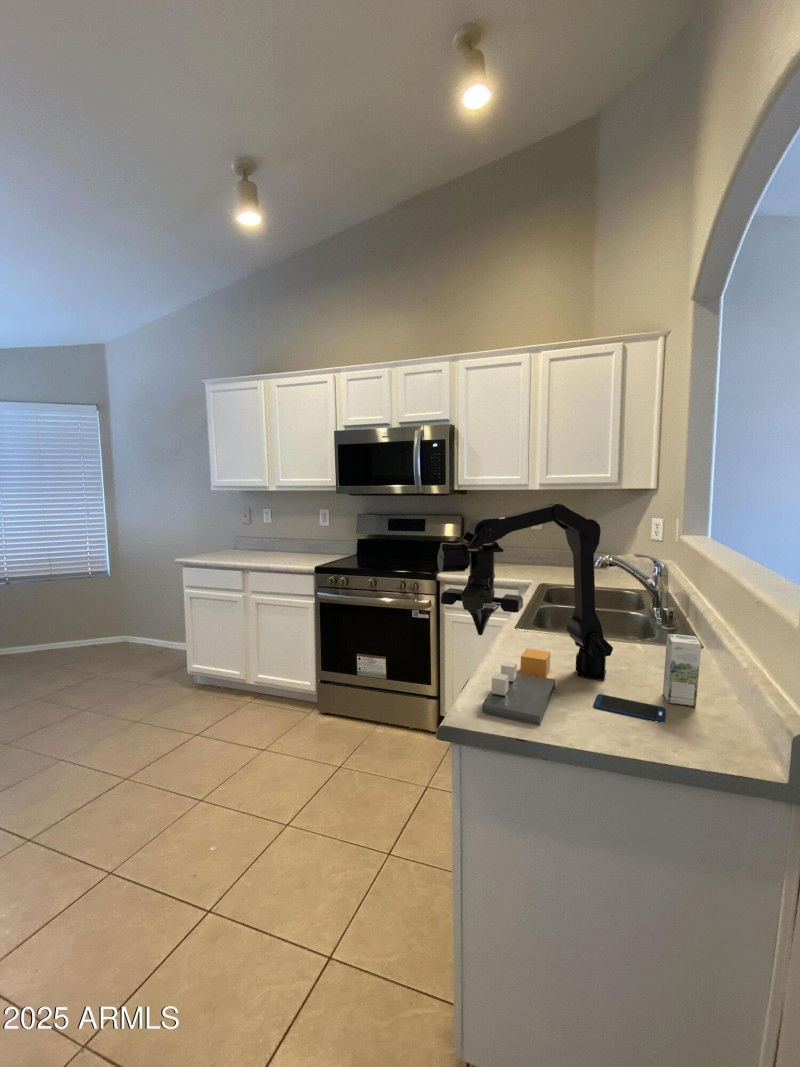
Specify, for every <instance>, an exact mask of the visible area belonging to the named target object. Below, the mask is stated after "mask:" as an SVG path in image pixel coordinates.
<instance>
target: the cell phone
mask: <svg viewBox="0 0 800 1067" xmlns="http://www.w3.org/2000/svg"><path fill="white" fill-rule="evenodd" d="M592 708H594V709H596V710H601V711H605V712H609V713H612V714H613V713H614V714H618V715H619V714H620V715H623V716H627V717H631V718H632V717H633V718H636V719H641V720H646V721H650V720H651V721H650V722H654V721H658V722H657V723H659V722H664V723H665V722H666V716H665V715H667V710H666V708H665V707H664V706H660V705H655V704H651V703H650V704H649V703H645V702H642V701H637V700H632V699H631V700H630V699H626V698H623V697H622V698H621V697H617V696H611V695H607V694H601V693H599V694H597V695H596V697H595V699H594V702H593V705H592Z"/></svg>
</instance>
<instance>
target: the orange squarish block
mask: <svg viewBox="0 0 800 1067" xmlns="http://www.w3.org/2000/svg"><path fill="white" fill-rule="evenodd" d="M550 671H551V651H547V650H539V649H532V648H525V649H524V651H523V652H522V654H521V655H520V672H519V673H522V674H527V675H533V676H539V677H545V678H548V675H549V673H550Z"/></svg>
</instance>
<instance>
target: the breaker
mask: <svg viewBox="0 0 800 1067" xmlns="http://www.w3.org/2000/svg"><path fill="white" fill-rule="evenodd" d="M508 682H509V675H504V674H501V673H497V672H495V673H494V674H493V676H491V691H492V692H491V691H490V692H491V693H494V694H499V695H504V696H505V695H506V693H507V692H508Z"/></svg>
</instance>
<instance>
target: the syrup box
mask: <svg viewBox="0 0 800 1067" xmlns="http://www.w3.org/2000/svg"><path fill="white" fill-rule="evenodd" d="M701 653H702V645H701V643H700V641H699V639H698V638H697V637H696V636H694V635H686V634H685V635H684V634H672V633H667V634H666V646H665V662H664V675H663V689H662V692H663V696H664V697H665V698H664V699H665V700H666V703H667V704H670V703H671V705H677V704H680V705H679V706H684V705H688V706H687V707H692V706H696V707H697V701H698V700H697V698H698V688H699V687H698V686H699V676H700V666H701V665H700V664H701V663H700V662H701Z"/></svg>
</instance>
